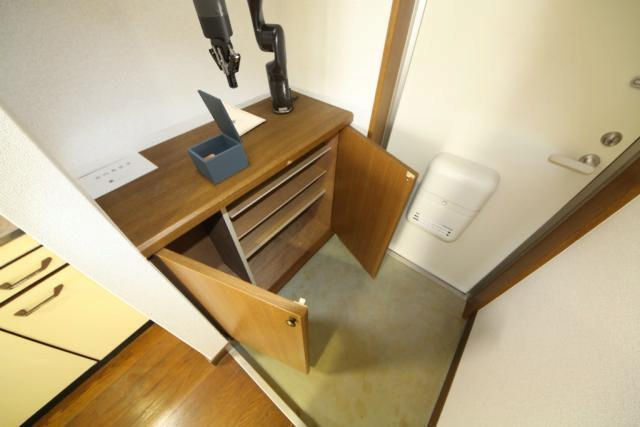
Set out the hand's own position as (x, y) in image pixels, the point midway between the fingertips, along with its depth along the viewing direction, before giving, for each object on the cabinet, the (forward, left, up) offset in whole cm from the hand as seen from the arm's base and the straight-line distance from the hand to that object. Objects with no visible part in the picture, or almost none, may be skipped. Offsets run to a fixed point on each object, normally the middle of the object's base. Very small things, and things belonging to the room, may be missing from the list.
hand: (233, 87), depth 69 cm
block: (+16, 0, -22) cm, 28 cm away
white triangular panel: (-9, -19, -24) cm, 32 cm away
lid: (+8, 0, -7) cm, 10 cm away
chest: (+13, 0, -23) cm, 27 cm away
